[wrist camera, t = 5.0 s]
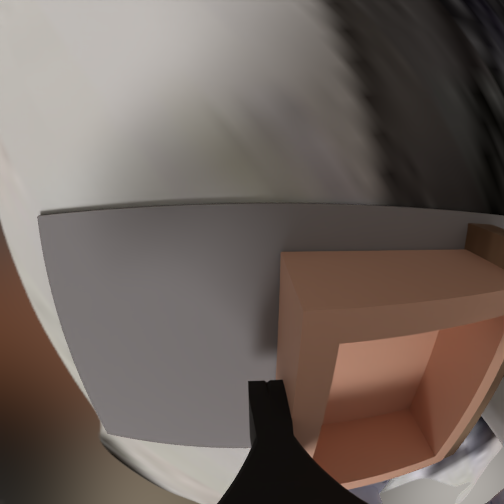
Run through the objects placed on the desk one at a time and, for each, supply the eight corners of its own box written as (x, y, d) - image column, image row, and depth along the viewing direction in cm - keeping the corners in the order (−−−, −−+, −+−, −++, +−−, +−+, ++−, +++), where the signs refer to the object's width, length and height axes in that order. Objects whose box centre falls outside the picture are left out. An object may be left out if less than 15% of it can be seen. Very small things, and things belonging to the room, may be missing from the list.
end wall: (430, 414, 14) (453, 454, 11) (406, 421, 14) (428, 464, 11) (492, 224, 11) (547, 247, 7) (468, 223, 11) (528, 247, 7)
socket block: (413, 410, 14) (441, 460, 10) (272, 432, 14) (278, 499, 9) (465, 249, 11) (530, 284, 7) (280, 252, 11) (303, 310, 6)
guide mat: (451, 408, 15) (452, 409, 15) (108, 431, 14) (107, 433, 14) (514, 216, 11) (517, 217, 11) (39, 215, 10) (37, 216, 10)
